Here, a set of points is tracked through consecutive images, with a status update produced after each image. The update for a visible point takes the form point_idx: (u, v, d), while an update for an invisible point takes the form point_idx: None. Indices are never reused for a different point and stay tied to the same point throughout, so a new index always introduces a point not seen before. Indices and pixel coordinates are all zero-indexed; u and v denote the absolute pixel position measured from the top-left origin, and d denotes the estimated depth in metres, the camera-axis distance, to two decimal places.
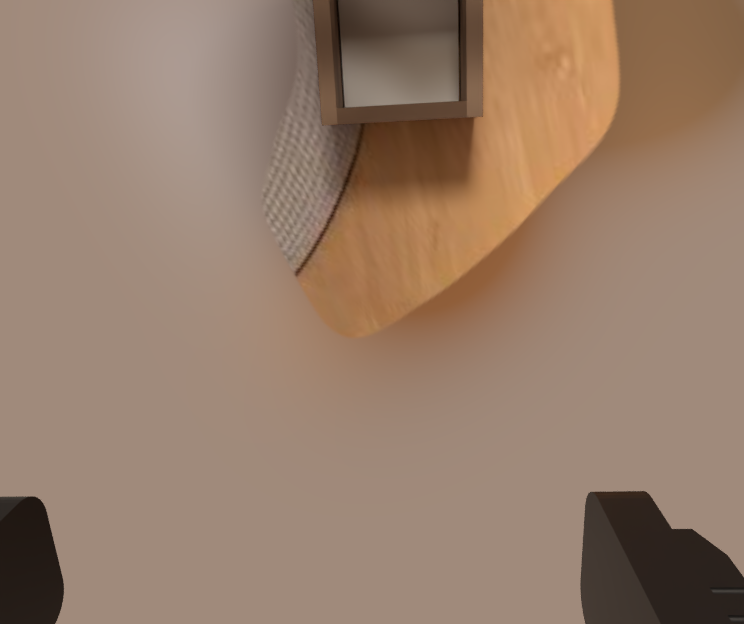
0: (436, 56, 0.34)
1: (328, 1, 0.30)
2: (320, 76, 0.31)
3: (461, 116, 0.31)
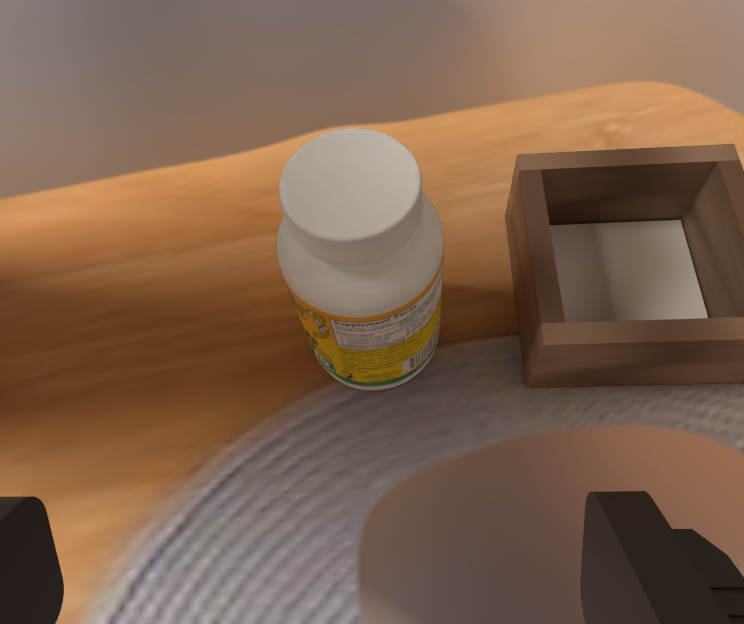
0: (629, 245, 0.26)
1: (616, 322, 0.20)
2: (726, 336, 0.20)
3: (740, 165, 0.23)
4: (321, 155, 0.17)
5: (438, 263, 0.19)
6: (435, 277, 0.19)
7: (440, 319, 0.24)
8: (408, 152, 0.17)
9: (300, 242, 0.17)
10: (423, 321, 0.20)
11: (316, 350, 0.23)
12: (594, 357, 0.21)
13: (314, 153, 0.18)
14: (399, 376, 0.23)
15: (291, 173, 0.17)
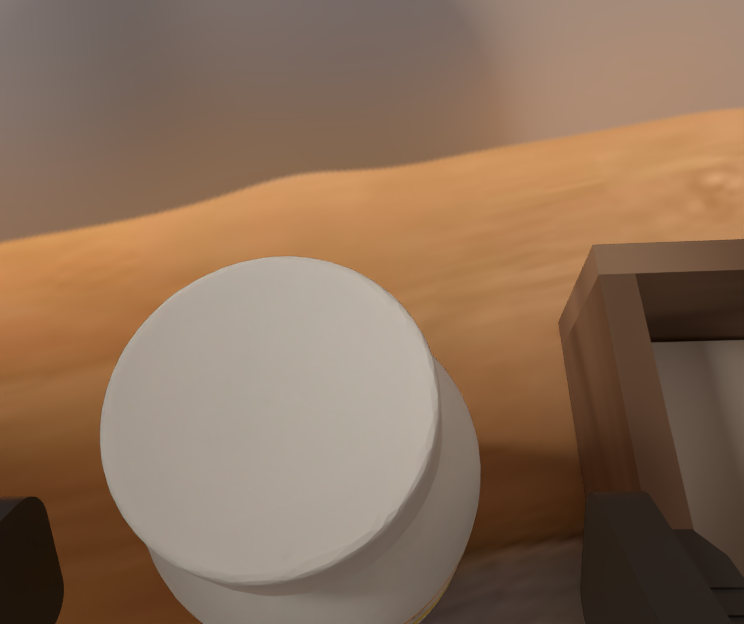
0: None
1: None
2: None
3: None
4: (208, 325, 0.08)
5: (471, 527, 0.09)
6: (464, 550, 0.09)
7: None
8: (409, 322, 0.07)
9: None
10: (437, 598, 0.11)
11: None
12: None
13: (193, 320, 0.08)
14: None
15: (133, 374, 0.07)
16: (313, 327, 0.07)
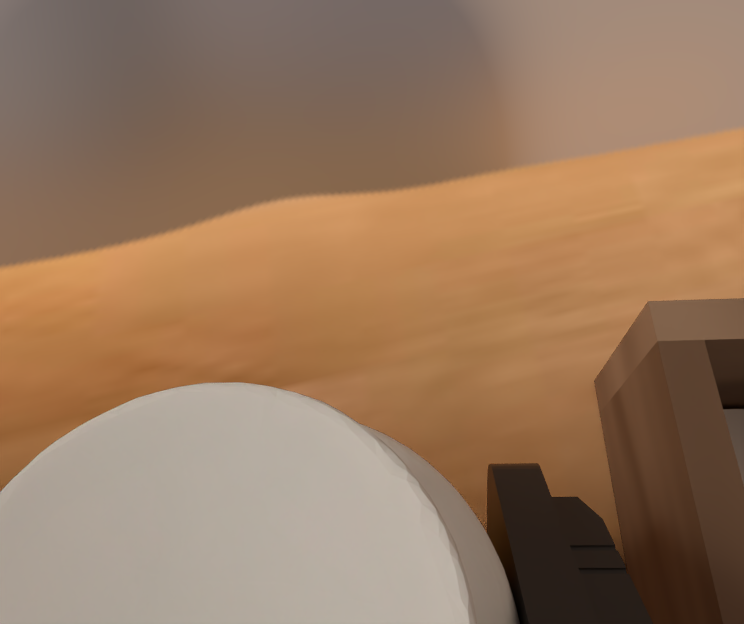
0: None
1: None
2: None
3: None
4: (96, 507, 0.05)
5: None
6: None
7: None
8: (425, 509, 0.04)
9: None
10: None
11: None
12: None
13: (72, 495, 0.05)
14: None
15: None
16: (267, 514, 0.05)
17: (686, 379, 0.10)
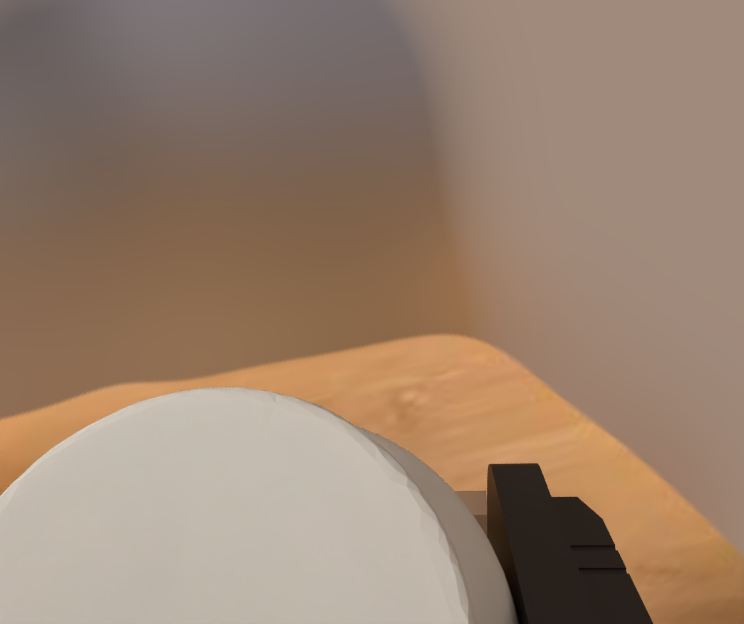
0: None
1: None
2: None
3: (486, 523, 0.21)
4: (95, 513, 0.05)
5: None
6: None
7: None
8: (425, 516, 0.04)
9: None
10: None
11: None
12: None
13: (72, 502, 0.05)
14: None
15: None
16: (266, 521, 0.05)
17: None
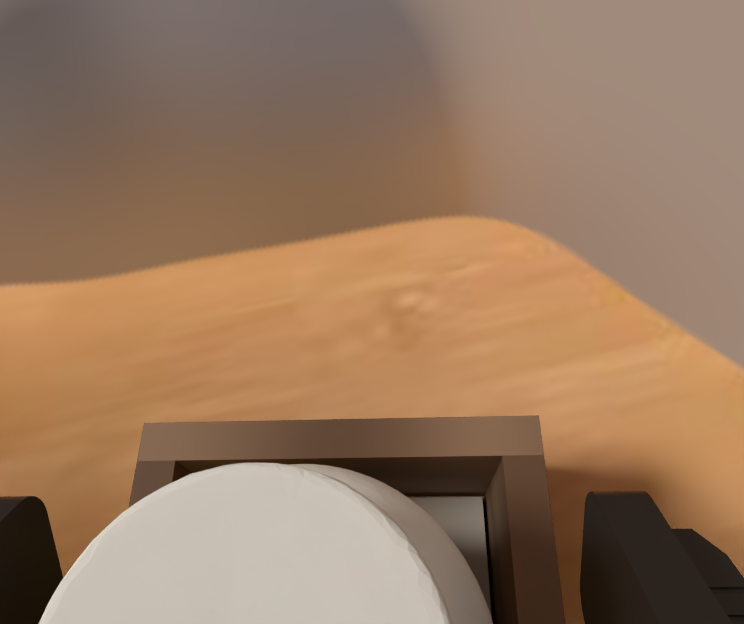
0: None
1: None
2: None
3: (542, 468, 0.12)
4: (161, 566, 0.06)
5: None
6: None
7: None
8: (421, 574, 0.06)
9: None
10: None
11: None
12: None
13: (141, 557, 0.06)
14: None
15: None
16: (297, 575, 0.06)
17: None
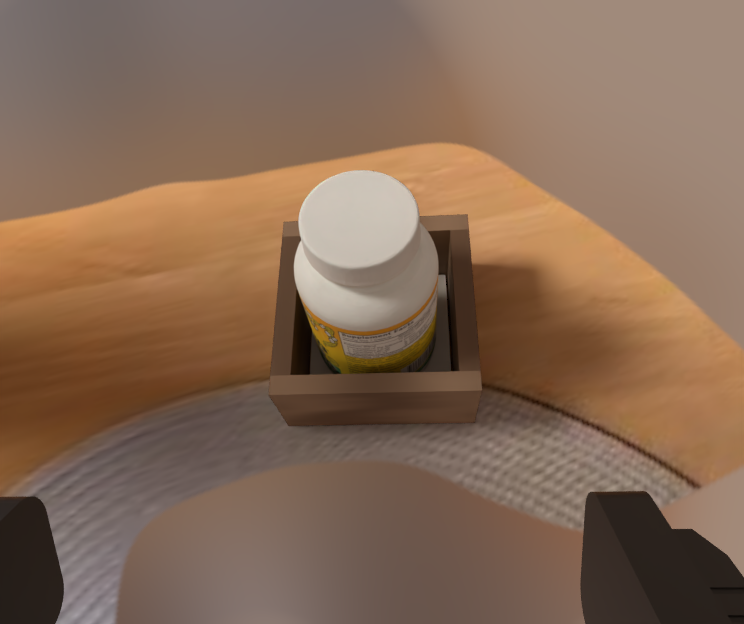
0: None
1: (332, 375, 0.24)
2: (419, 388, 0.23)
3: (467, 234, 0.27)
4: (334, 193, 0.21)
5: (433, 286, 0.22)
6: (430, 297, 0.22)
7: None
8: (408, 192, 0.20)
9: (315, 267, 0.20)
10: (419, 335, 0.24)
11: (325, 356, 0.26)
12: (321, 404, 0.25)
13: (329, 191, 0.21)
14: None
15: (309, 208, 0.20)
16: (373, 194, 0.20)
17: (288, 250, 0.27)
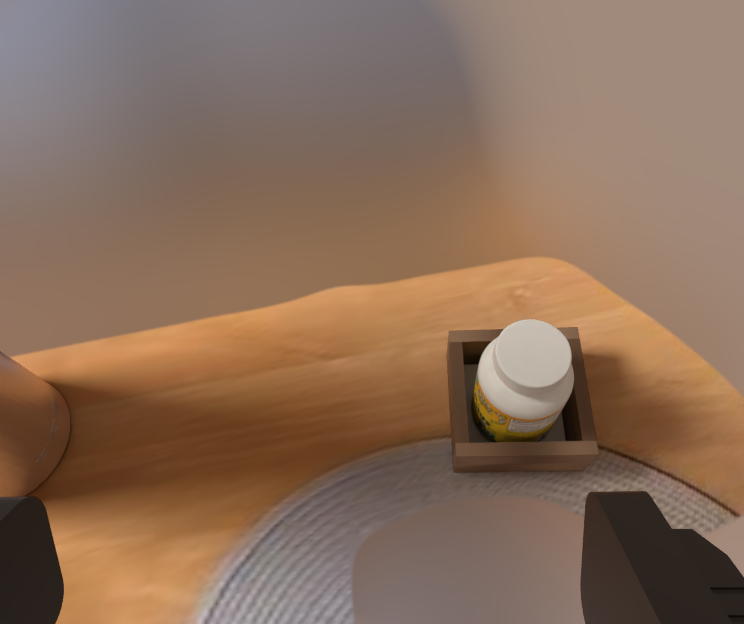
0: None
1: (497, 443, 0.36)
2: (557, 453, 0.36)
3: (579, 342, 0.39)
4: (516, 335, 0.33)
5: None
6: (569, 396, 0.34)
7: None
8: (563, 336, 0.33)
9: (505, 382, 0.33)
10: (556, 417, 0.36)
11: (485, 427, 0.38)
12: (487, 461, 0.37)
13: (512, 334, 0.33)
14: None
15: (501, 346, 0.33)
16: (541, 336, 0.33)
17: (455, 352, 0.39)
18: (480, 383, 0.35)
